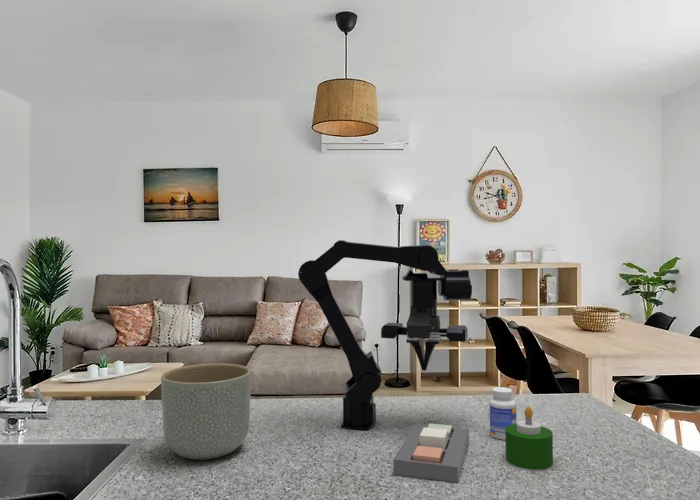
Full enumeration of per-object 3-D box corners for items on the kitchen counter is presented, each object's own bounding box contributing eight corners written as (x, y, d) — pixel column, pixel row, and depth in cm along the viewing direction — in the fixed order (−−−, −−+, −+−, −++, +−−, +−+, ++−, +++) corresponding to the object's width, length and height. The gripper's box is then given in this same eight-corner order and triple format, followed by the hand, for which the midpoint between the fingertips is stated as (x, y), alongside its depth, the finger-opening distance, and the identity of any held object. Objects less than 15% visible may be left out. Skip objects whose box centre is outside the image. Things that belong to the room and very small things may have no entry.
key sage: (425, 442, 106) (425, 430, 106) (429, 435, 110) (429, 423, 110) (449, 445, 104) (449, 432, 104) (452, 437, 108) (452, 425, 108)
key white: (419, 448, 99) (419, 435, 99) (424, 439, 104) (423, 427, 104) (444, 450, 98) (444, 437, 98) (447, 442, 102) (447, 429, 102)
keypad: (393, 474, 93) (393, 459, 93) (415, 436, 112) (415, 423, 112) (457, 482, 90) (457, 467, 90) (468, 441, 109) (468, 428, 109)
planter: (266, 440, 110) (265, 366, 110) (220, 473, 94) (220, 386, 94) (196, 432, 116) (195, 361, 116) (142, 461, 100) (141, 379, 100)
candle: (529, 473, 93) (529, 416, 93) (496, 457, 101) (495, 404, 101) (562, 464, 97) (562, 409, 97) (528, 449, 105) (528, 398, 105)
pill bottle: (517, 441, 109) (517, 393, 109) (490, 439, 110) (490, 392, 110) (515, 432, 114) (514, 386, 114) (488, 430, 115) (488, 385, 115)
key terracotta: (413, 468, 93) (412, 454, 93) (417, 458, 98) (417, 445, 98) (439, 471, 92) (439, 457, 92) (443, 461, 96) (443, 448, 96)
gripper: (374, 303, 115) (374, 375, 115) (462, 305, 109) (463, 381, 109) (386, 298, 126) (387, 365, 126) (467, 300, 120) (468, 369, 120)
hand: (424, 370), depth 120 cm, fingers closed
